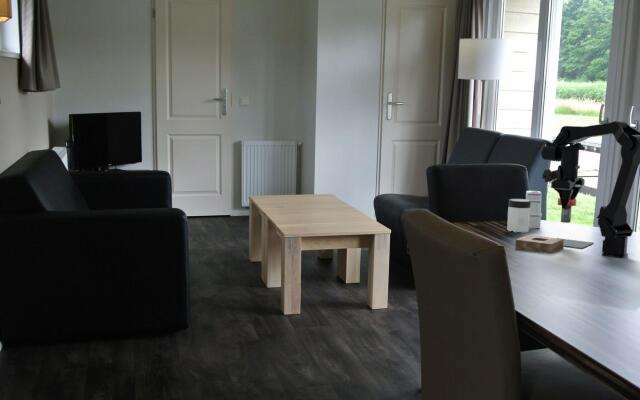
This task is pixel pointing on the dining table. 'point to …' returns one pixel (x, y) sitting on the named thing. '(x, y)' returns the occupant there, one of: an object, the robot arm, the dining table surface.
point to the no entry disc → (567, 210)
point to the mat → (576, 243)
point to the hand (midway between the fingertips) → (566, 207)
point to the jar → (518, 215)
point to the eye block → (539, 243)
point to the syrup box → (534, 208)
